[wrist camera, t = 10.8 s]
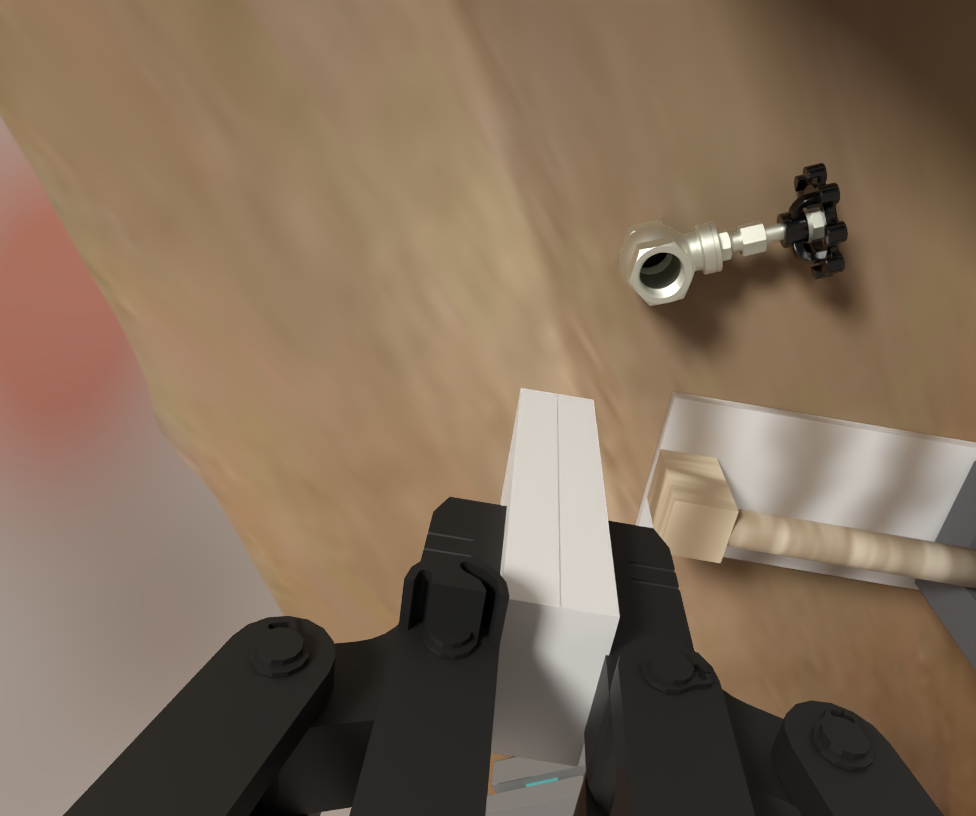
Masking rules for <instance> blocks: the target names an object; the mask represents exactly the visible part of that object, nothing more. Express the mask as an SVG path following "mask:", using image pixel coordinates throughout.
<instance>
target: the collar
mask: <svg viewBox="0 0 976 816" xmlns="http://www.w3.org/2000/svg"><path fill="white" fill-rule="evenodd" d="M935 542H938V543H944V544H950V545H956V546H962V547H968V548H974V549H976V461H974V463H973V465H972V467H971V469H970V471H969V473H968V475H967V477H966V479H965V481H964V483H963V485H962V487H961V489H960V491H959V493H958V495H957V497H956V499H955V501H954V503H953V505H952V507H951V509H950V511H949V513H948V515H947V517H946V519H945V521H944V524H943V526H942V528H941V530H940V532H939V534H938V536H937V538H936V540H935ZM915 584H916V585H917V587H918V588H919V590H920V591H921V593H922V594H923V596H924V597H925V598H926V600H927V601H928V603H929V604H930V606H931V607H932V609H933V610H934V611H935V613H936V614H937V616H938V617H939V619H940V620H941V622H942V623H943V625H944V626H945V627H946V629H947V630H948V632H949V633H950V635H951V636H952V638H953V639H954V640H955V642H956V643H957V645H958V646H959V648H960V649H961V651H962V652H963V654H964V655H965V656H966V658H967V659H968V661H969V662H970V664H971V665H972V667H973V668H974V669H975V671H976V588H971V587H965V586H959V585H953V584H947V583H941V582H935V581H929V580H923V579H917V578H916V580H915Z"/></svg>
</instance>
